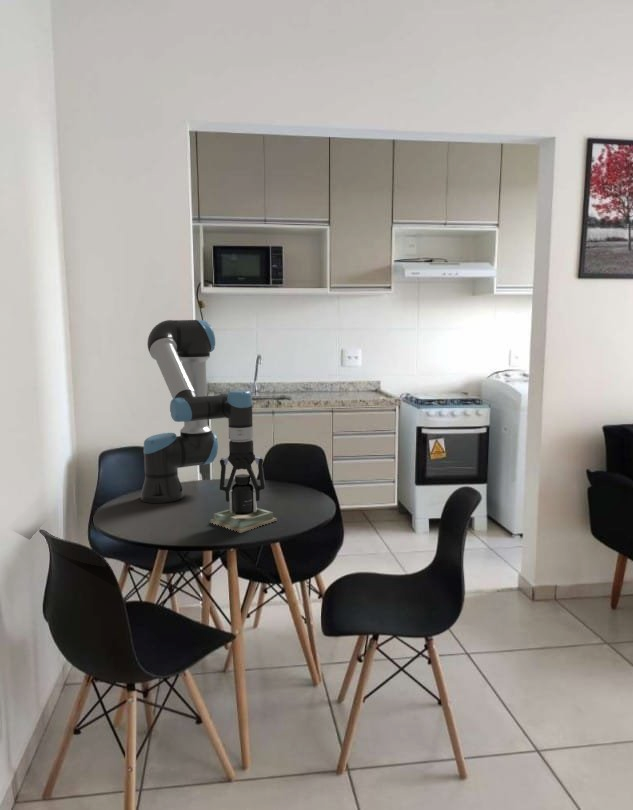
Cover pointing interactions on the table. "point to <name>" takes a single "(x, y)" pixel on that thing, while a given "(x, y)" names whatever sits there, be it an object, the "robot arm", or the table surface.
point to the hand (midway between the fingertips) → (243, 510)
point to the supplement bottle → (242, 495)
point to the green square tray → (243, 520)
